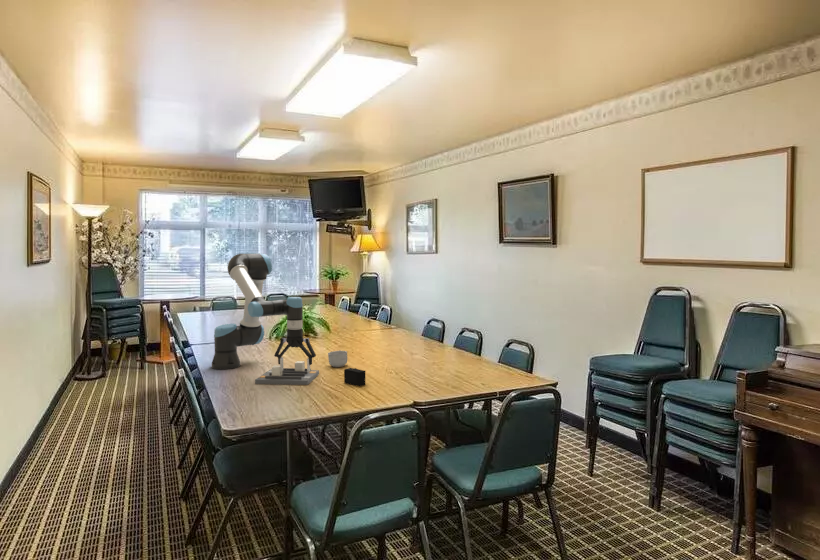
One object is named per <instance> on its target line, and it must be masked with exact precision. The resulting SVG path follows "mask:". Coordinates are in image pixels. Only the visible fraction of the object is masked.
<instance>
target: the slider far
mask: <svg viewBox="0 0 820 560" xmlns="http://www.w3.org/2000/svg"><path fill="white" fill-rule="evenodd" d="M305 363H306V361H304V360H303V361H301V360H300V361H299V360H297V361H295V362H294V368H295V371H305V369H306V368H305V367H306V365H305Z"/></svg>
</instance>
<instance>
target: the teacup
mask: <svg viewBox="0 0 820 560" xmlns="http://www.w3.org/2000/svg"><path fill="white" fill-rule="evenodd" d="M327 358H328V363H329V365H330V366H331V367H333V368H341V367H342V368H343V367H345V365H346V364H347V363H348V351H347V350H333V351H329V352H327Z"/></svg>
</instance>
